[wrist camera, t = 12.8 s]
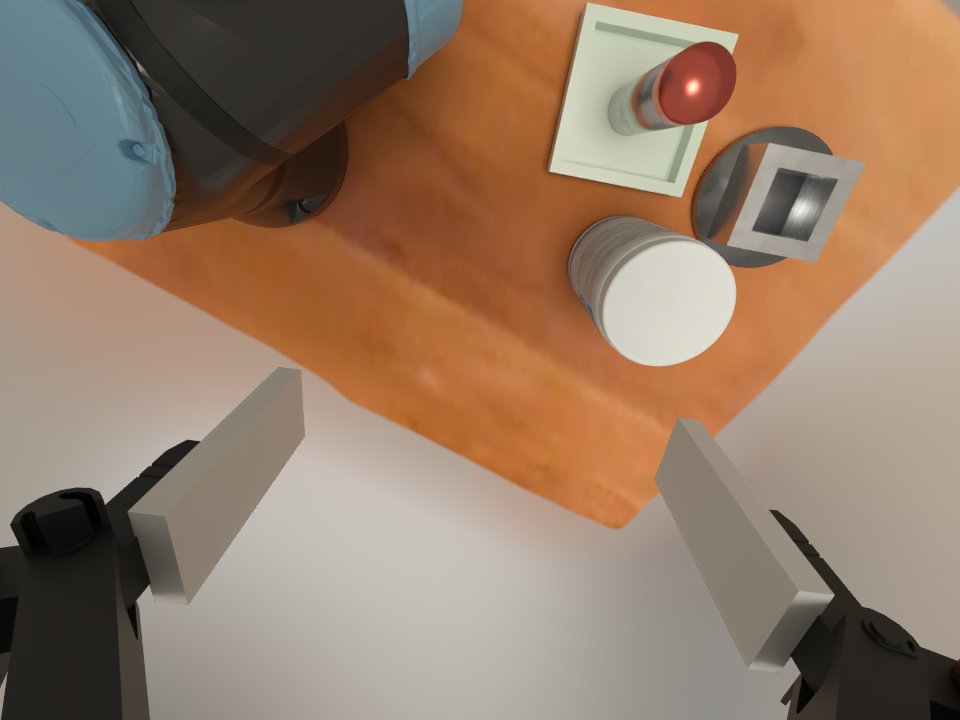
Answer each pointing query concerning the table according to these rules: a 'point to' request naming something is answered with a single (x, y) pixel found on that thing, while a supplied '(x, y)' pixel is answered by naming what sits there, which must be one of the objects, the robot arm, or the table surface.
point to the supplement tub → (651, 289)
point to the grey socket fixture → (772, 197)
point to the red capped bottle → (675, 91)
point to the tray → (593, 81)
